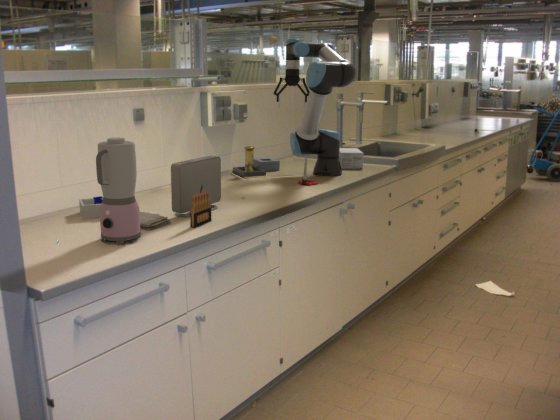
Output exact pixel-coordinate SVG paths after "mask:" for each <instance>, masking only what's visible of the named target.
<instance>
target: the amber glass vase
mask: <svg viewBox="0 0 560 420" xmlns="http://www.w3.org/2000/svg"><path fill="white" fill-rule="evenodd" d="M243 147H244V167H245V171H244V172H254V159H255V158H254V157H255V155H254V154H255V152H254V151H255V146H253V145H245V146H243Z"/></svg>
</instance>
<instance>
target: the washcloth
mask: <svg viewBox="0 0 560 420" xmlns="http://www.w3.org/2000/svg"><path fill="white" fill-rule="evenodd" d="M170 223H171V221H170V219H169V218H168V216H163V215H160V214H159V213H150V212H146V211H140V230H145V231H152V230H156V229H159V228H161V227H164V226H166V225H169V224H170Z"/></svg>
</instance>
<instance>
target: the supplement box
mask: <svg viewBox="0 0 560 420" xmlns="http://www.w3.org/2000/svg"><path fill="white" fill-rule="evenodd" d="M364 154H365V153H364V152H363V151H362V150H360V149H359V148H354V147H353V148H352V147H351V148H349V147H348V148H345V147H344V148H343V147H342V148H341V147H340V151H339V161H340V165H341V169H360V168H364Z"/></svg>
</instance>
